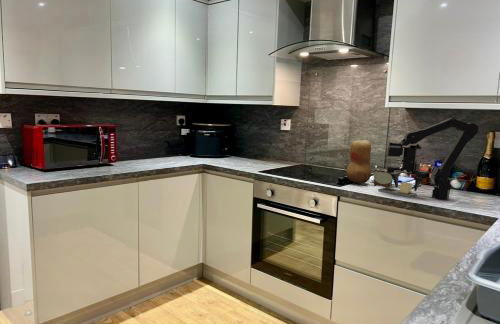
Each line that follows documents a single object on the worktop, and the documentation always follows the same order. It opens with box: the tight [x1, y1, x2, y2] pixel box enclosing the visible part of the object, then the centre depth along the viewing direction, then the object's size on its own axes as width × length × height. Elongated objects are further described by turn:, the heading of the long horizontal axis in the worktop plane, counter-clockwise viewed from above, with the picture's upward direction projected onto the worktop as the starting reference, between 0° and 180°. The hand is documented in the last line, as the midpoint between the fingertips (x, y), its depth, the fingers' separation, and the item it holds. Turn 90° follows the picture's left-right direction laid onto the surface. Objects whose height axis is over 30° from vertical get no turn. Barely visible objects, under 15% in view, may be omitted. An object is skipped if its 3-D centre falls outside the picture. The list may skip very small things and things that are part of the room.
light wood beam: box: [399, 181, 413, 195], centre depth 182 cm, size 4×4×6 cm
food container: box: [372, 167, 394, 188], centre depth 204 cm, size 12×6×10 cm, turn 41°
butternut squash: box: [345, 139, 372, 185], centre depth 210 cm, size 14×13×25 cm
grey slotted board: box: [377, 187, 418, 199], centre depth 185 cm, size 16×8×2 cm, turn 44°
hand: (405, 189), depth 182 cm, fingers open, 9 cm apart
